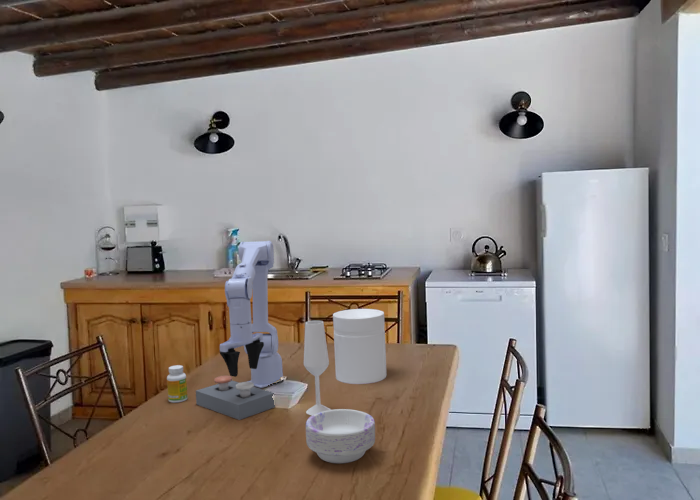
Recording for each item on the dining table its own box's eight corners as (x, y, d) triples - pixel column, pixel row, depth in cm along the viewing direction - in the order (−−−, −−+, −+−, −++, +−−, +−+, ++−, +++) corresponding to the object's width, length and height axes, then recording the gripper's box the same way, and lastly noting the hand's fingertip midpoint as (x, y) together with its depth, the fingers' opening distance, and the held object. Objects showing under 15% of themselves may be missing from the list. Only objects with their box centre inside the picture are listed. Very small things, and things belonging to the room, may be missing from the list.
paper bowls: (385, 463, 131) (384, 426, 130) (316, 475, 126) (314, 437, 126) (363, 437, 145) (362, 404, 145) (300, 447, 141) (298, 413, 140)
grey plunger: (247, 394, 171) (246, 380, 170) (258, 398, 167) (257, 383, 167) (233, 399, 167) (232, 385, 167) (243, 402, 164) (242, 388, 164)
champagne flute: (313, 405, 168) (309, 319, 166) (335, 408, 165) (331, 320, 163) (301, 413, 162) (296, 324, 160) (323, 416, 159) (319, 325, 157)
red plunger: (226, 388, 178) (225, 374, 177) (236, 391, 174) (235, 377, 174) (211, 392, 174) (211, 378, 174) (221, 395, 171) (220, 381, 170)
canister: (327, 381, 189) (324, 317, 188) (347, 367, 204) (344, 308, 202) (376, 385, 183) (373, 319, 182) (393, 370, 198) (390, 309, 196)
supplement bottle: (182, 403, 175) (180, 369, 174) (165, 402, 176) (162, 369, 175) (190, 397, 180) (188, 364, 179) (174, 396, 181) (171, 364, 181)
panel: (231, 393, 182) (230, 380, 182) (275, 407, 168) (274, 392, 168) (196, 404, 173) (195, 390, 173) (239, 420, 160) (238, 405, 159)
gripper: (248, 316, 174) (251, 363, 175) (210, 326, 162) (213, 377, 163) (267, 318, 170) (270, 366, 171) (229, 329, 158) (232, 380, 159)
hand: (243, 372), depth 167 cm, fingers open, 7 cm apart
